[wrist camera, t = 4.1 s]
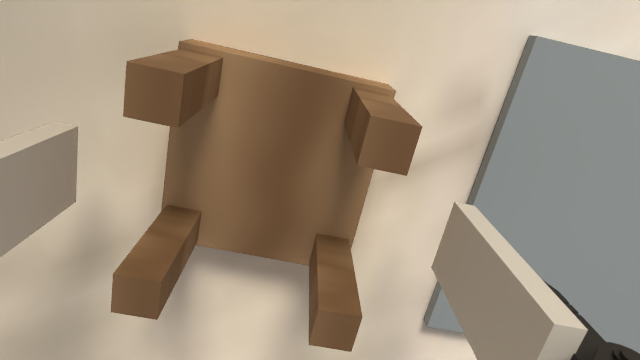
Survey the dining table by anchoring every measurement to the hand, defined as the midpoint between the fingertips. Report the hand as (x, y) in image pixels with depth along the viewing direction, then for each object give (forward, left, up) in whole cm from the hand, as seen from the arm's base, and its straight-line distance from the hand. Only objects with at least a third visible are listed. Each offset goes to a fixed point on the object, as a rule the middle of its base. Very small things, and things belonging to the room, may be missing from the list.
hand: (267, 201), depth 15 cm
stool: (0, 0, -4) cm, 4 cm away
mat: (+16, 0, -4) cm, 16 cm away
